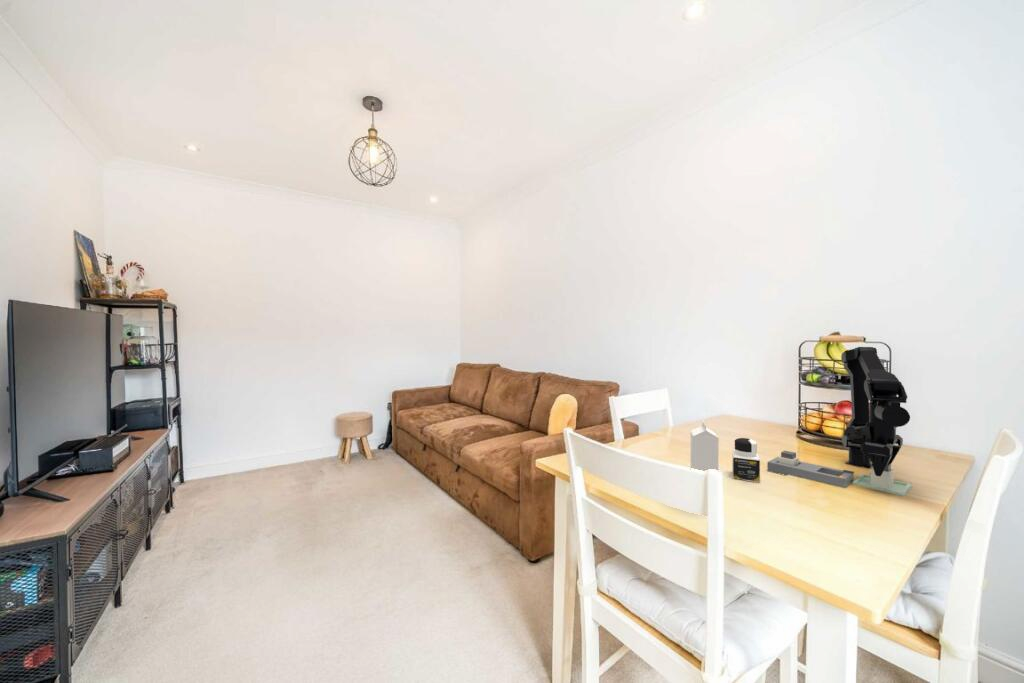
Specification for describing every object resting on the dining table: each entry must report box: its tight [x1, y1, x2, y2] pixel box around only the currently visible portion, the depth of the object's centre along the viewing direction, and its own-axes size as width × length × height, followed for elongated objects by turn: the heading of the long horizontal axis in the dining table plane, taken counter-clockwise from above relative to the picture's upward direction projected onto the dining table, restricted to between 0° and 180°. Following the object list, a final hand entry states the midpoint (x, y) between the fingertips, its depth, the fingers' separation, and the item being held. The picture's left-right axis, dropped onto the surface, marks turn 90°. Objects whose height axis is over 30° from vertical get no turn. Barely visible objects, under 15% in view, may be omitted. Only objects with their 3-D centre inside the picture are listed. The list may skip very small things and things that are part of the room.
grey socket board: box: [767, 456, 855, 489], centre depth 124 cm, size 9×20×3 cm, turn 37°
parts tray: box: [852, 473, 913, 497], centre depth 115 cm, size 11×11×1 cm
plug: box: [870, 463, 894, 489], centre depth 115 cm, size 4×4×6 cm
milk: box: [690, 419, 720, 471], centre depth 104 cm, size 6×6×22 cm
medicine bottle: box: [731, 437, 761, 483], centre depth 124 cm, size 7×7×12 cm
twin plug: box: [778, 450, 799, 467], centre depth 129 cm, size 4×4×6 cm
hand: (881, 472), depth 115 cm, fingers open, 9 cm apart
